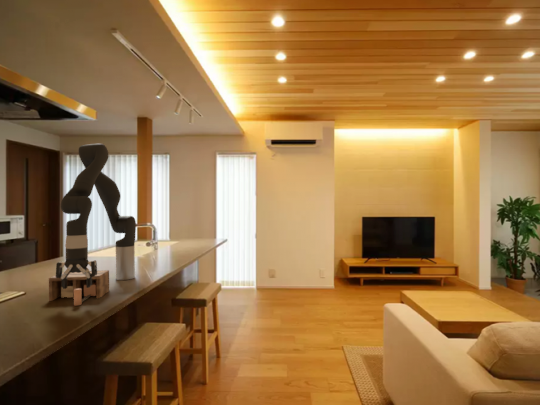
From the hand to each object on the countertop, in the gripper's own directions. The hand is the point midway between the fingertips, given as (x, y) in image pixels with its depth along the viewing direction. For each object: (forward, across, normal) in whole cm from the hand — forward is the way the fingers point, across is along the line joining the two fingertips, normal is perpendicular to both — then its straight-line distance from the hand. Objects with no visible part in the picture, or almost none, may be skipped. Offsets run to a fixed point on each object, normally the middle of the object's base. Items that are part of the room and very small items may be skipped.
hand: (76, 287), depth 128 cm
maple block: (+7, +9, -15) cm, 19 cm away
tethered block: (+7, 0, -8) cm, 10 cm away
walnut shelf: (+7, +4, -15) cm, 17 cm away
